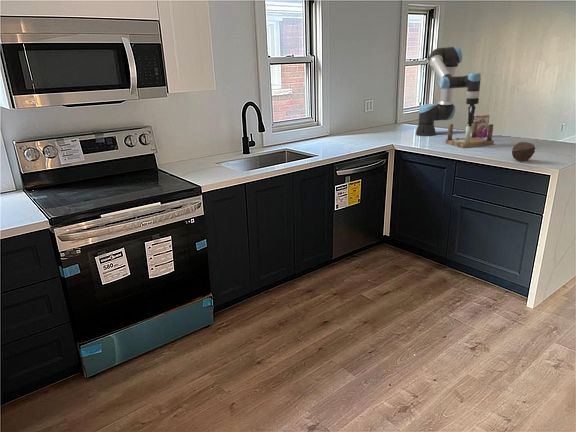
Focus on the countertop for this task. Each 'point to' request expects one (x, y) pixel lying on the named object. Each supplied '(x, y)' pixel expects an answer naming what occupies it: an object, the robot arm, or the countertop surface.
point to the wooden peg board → (473, 140)
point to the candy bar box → (481, 125)
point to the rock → (523, 151)
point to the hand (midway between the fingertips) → (469, 133)
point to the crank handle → (467, 136)
